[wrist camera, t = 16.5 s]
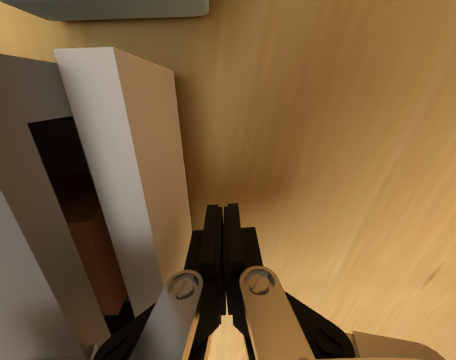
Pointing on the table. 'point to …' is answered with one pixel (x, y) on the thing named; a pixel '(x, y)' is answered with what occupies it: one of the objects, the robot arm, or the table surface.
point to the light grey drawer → (125, 160)
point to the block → (91, 238)
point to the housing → (40, 231)
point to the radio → (110, 8)
